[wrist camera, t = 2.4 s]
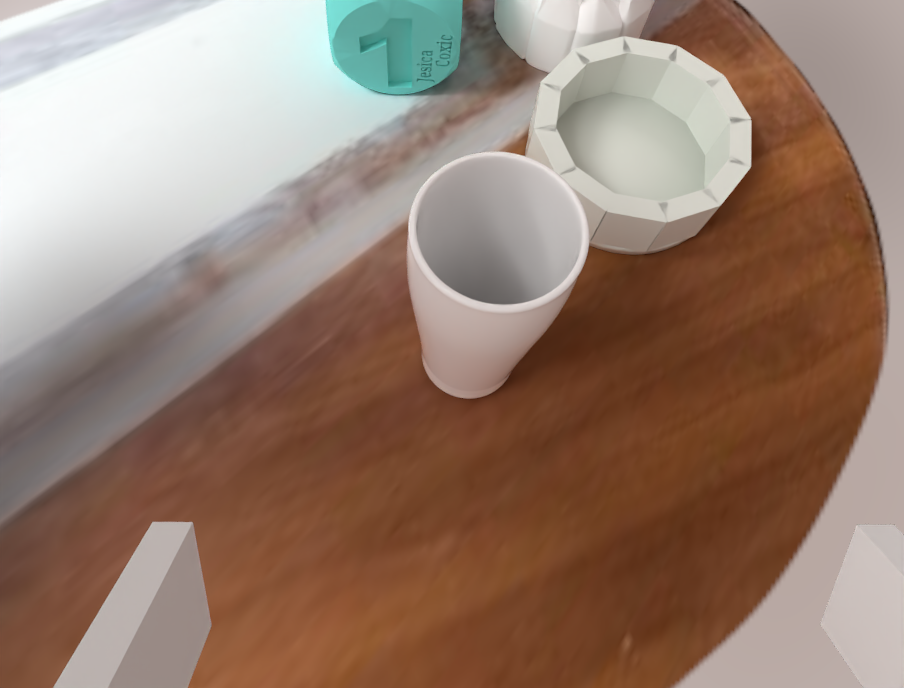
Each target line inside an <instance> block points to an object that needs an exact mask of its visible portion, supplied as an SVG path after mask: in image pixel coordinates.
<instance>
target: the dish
mask: <svg viewBox="0 0 904 688" xmlns="http://www.w3.org/2000/svg"><path fill="white" fill-rule="evenodd" d="M525 157H529V158H531V159H534V160H536V161H538V162H540V163H542V164H544V165H546V166H547V167H549V168H551V169H552V170H553V171H555V172H556V173H557V174H559V175H560V176H561V177H562V178H563V179H564V180H565V181H566V182H567V183H568V184H569V185H570V186H571V188H572V189H573V190H574V191H575V193H576V194H577V196H578V198H579V199H580V201H581V203H582V205H583V208H584V210H585V213H586V216H587V220H588V225H589V236H590V239H589V246H592V247H594V248H597V249H600V250H604V251H608V252H612V253H619V254H627V255H641V254H649V253H656V252H659V251H663V250H667V249H669V248H672V247H674V246H677V245H679V244H680V243H682V242H684V241H686V240H687V239H689V238H690V237H693V236H695V235H696V234H697V233H698V232H699V231H700V230H701V228H702V227H703V226H704V225H705V224H706V222H707V221H708V220H709V219H710V218H711V217H712V215H713V214H714V213H715V212H716V211H717V209H718V208H719V207H720V206H721V205H722V203H723V202H724V201H725V200H726V198H727V197H728V196H729V195H730V193H731V192H732V191H733V189H734V188H735V187H736V186H737V184H738V183H739V182H740V181H741V179H742V178H743V177H744V175H745V174H746V173H747V172H748V170H749V169H750V168H751V118H750V116H749V115H748V113H747V111H746V110H745V108H744V107H743V105H742V103H741V102H740V100H739V99H738V97H737V95H736V94H735V92H734V90H733V89H732V87H731V86H730V84H729V82H728V81H727V79H726V78H725V76H723V74H721V73H720V72H718V71H716V70H715V69H713V68H712V67H710V66H709V65H707V64H706V63H704V62H702V61H701V60H699V59H698V58H696V57H695V56H693V55H692V54H690V53H688V52H687V51H685V50H684V49H682V48H681V47H679V46H678V47H677V45H671V44H666V43H660V42H654V41H649V40H643V39H637V38H631V37H626V36H624V37H623V36H622V37H618V38H614V39H610V40H607V41H603V42H599V43H595V44H591V45H587V46H583V47H580V48H576V49H573V50H572V51H571V52H570V53H569V54H568V55H567V56H566V57H565V58H564V59H563V60H562V61H561V62H560V63H559V64H558V65H557V66H556V67H555V68H554V69H553V70H552V71H551V72H550V73H549V74H548V75H547V76H546V77H545V78H544V79H543V80H542V81H541V83H540V87H539V91H538V94H537V98H536V102H535V106H534V110H533V114H532V118H531V122H530V128H529V135H528V140H527V145H526V149H525Z"/></svg>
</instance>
